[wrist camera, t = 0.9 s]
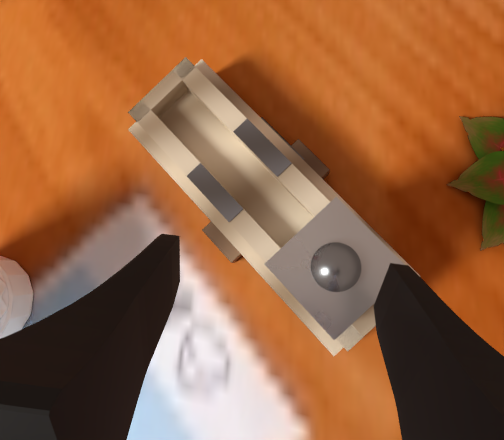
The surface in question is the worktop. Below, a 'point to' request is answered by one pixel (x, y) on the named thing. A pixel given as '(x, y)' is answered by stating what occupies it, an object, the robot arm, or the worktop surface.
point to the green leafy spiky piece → (486, 174)
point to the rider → (333, 267)
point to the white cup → (14, 297)
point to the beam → (239, 176)
